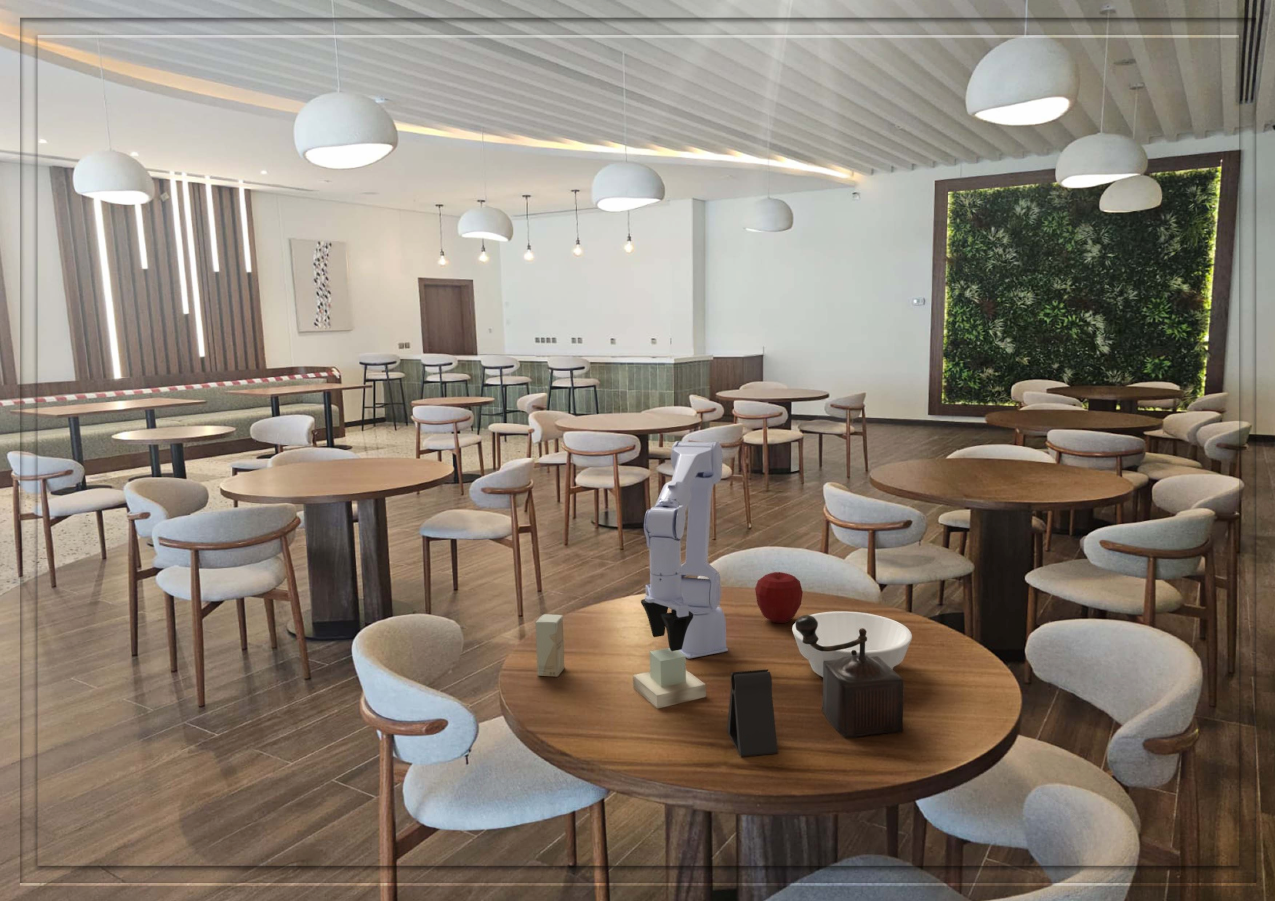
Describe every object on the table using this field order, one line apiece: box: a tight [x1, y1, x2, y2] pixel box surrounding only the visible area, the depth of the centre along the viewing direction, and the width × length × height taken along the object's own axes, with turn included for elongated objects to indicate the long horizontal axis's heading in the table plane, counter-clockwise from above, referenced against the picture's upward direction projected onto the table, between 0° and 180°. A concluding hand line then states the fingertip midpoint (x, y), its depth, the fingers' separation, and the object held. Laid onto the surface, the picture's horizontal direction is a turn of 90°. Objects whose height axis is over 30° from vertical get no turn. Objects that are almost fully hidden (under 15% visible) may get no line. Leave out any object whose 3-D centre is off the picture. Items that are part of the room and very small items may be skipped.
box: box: [535, 613, 565, 677], centre depth 161 cm, size 5×4×11 cm
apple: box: [754, 571, 804, 624], centre depth 186 cm, size 11×11×12 cm
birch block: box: [632, 669, 707, 709], centre depth 150 cm, size 10×10×3 cm
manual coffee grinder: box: [795, 614, 904, 739], centre depth 136 cm, size 16×11×18 cm
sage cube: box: [649, 647, 687, 687], centre depth 150 cm, size 5×5×5 cm
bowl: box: [791, 610, 913, 678], centre depth 157 cm, size 22×22×8 cm
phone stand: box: [726, 668, 779, 758], centre depth 130 cm, size 9×6×12 cm, turn 7°
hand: (667, 642), depth 150 cm, fingers open, 7 cm apart
